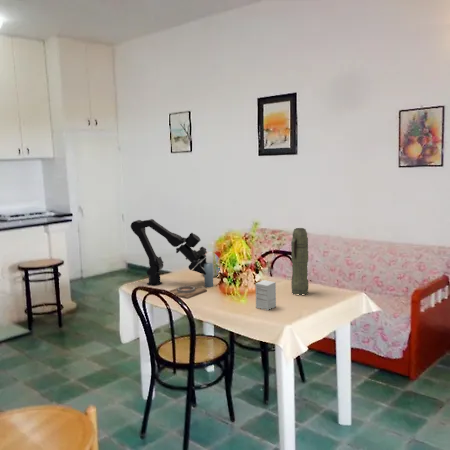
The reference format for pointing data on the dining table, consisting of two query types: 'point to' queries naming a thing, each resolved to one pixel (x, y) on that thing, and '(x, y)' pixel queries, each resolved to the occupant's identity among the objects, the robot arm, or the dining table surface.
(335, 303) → the dining table surface
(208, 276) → the sleeve
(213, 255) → the decorative egg
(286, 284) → the dining table surface
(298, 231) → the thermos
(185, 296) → the collar board
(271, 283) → the grey drawer cabinet
